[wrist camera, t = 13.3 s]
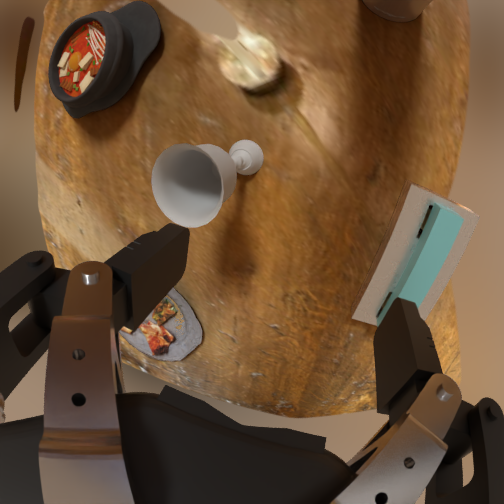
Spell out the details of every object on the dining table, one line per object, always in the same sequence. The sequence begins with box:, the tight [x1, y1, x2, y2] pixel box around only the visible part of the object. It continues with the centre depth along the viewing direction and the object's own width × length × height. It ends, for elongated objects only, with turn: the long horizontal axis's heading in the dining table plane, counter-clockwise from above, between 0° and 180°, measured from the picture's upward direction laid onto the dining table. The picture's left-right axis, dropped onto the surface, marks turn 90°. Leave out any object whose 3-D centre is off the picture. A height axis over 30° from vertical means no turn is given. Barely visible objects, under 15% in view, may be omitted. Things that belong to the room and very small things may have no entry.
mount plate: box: [351, 180, 479, 326], centre depth 37 cm, size 22×12×3 cm, turn 167°
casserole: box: [49, 1, 161, 118], centre depth 32 cm, size 25×19×8 cm
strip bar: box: [377, 203, 464, 327], centre depth 36 cm, size 20×4×5 cm, turn 167°
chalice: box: [151, 140, 263, 227], centre depth 31 cm, size 7×7×18 cm
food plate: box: [119, 288, 202, 361], centre depth 57 cm, size 25×23×4 cm
